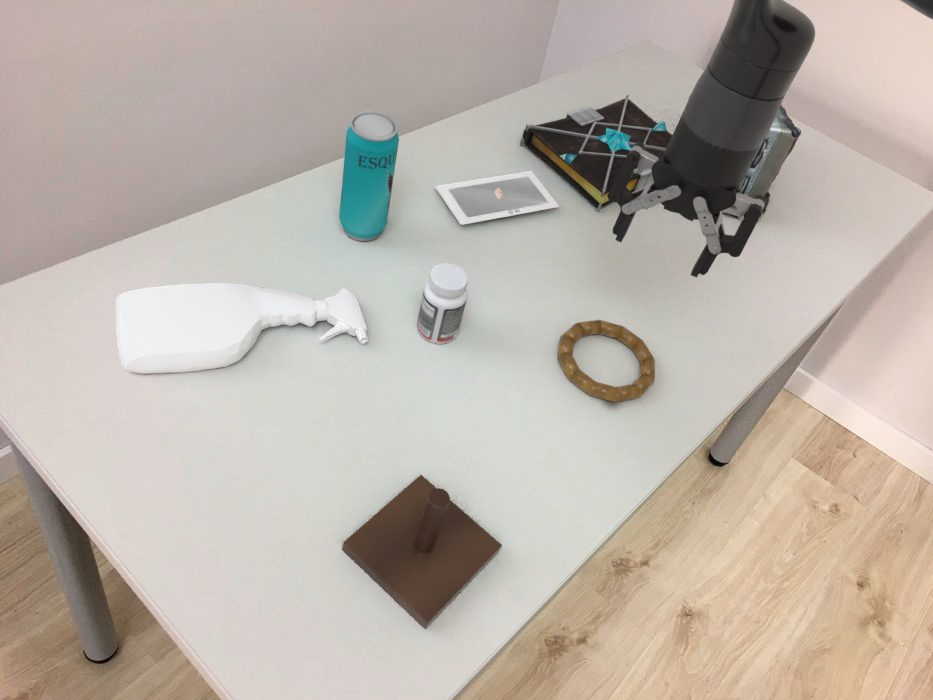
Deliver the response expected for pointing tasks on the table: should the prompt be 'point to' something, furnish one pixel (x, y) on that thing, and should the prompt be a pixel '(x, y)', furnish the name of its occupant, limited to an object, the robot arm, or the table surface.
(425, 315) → the pill bottle
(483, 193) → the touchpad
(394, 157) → the beverage can
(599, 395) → the ring
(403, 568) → the peg post
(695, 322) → the table surface
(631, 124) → the book
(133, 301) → the spray bottle
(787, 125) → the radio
